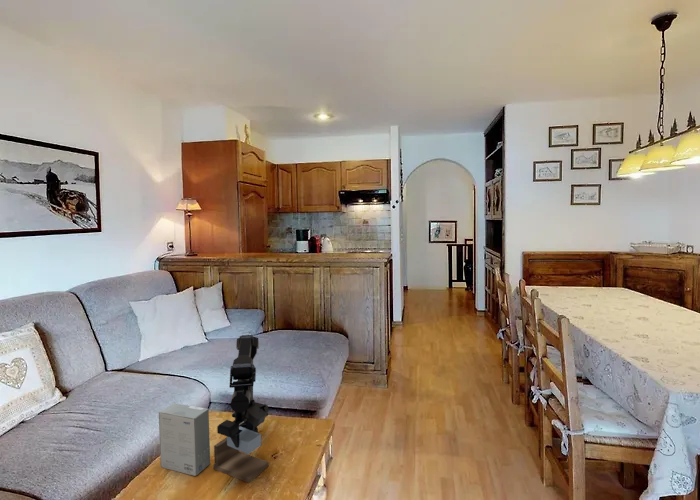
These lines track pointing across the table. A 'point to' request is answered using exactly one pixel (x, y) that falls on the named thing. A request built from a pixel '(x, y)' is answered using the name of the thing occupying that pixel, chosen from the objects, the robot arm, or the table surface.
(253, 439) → the grey rectangular block
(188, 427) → the hard drive box
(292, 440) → the table surface
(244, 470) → the walnut shelf
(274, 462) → the table surface
